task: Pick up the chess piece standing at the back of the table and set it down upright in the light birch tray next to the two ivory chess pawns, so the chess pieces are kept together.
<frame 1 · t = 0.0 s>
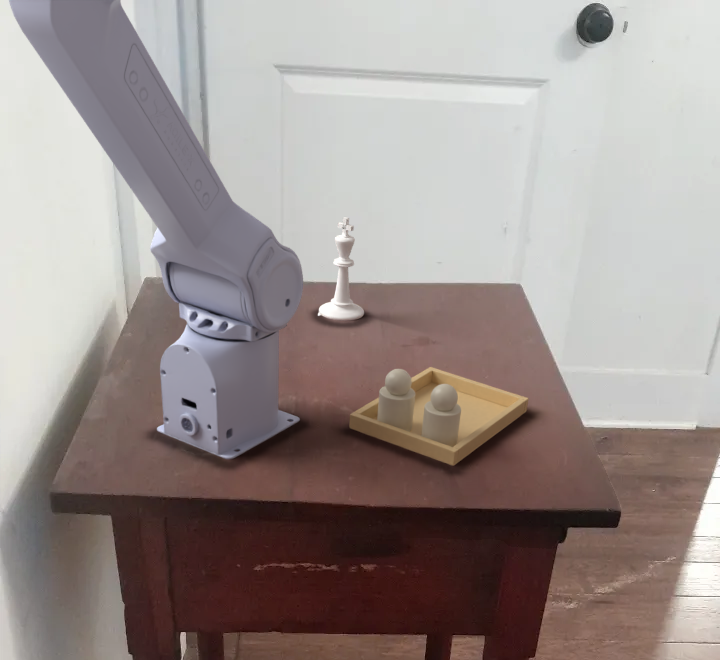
chess tray: (439, 424, 86), on the table
chess piece: (341, 318, 105), on the table
pawn b: (394, 426, 84), resting on chess tray
pawn a: (438, 442, 82), resting on chess tray
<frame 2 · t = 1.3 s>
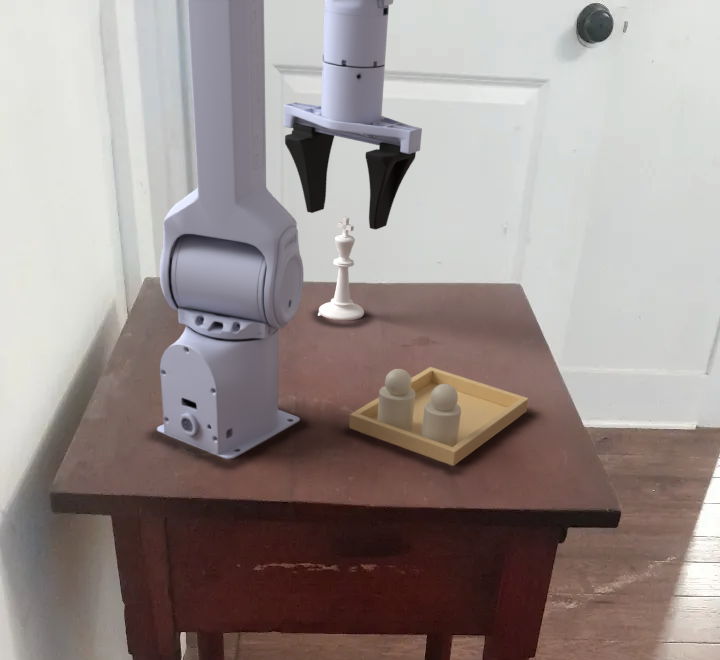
hand: (346, 218, 98), 10 cm above the table, tool pointing down, fingers open, 7 cm apart
nothing on the table moved.
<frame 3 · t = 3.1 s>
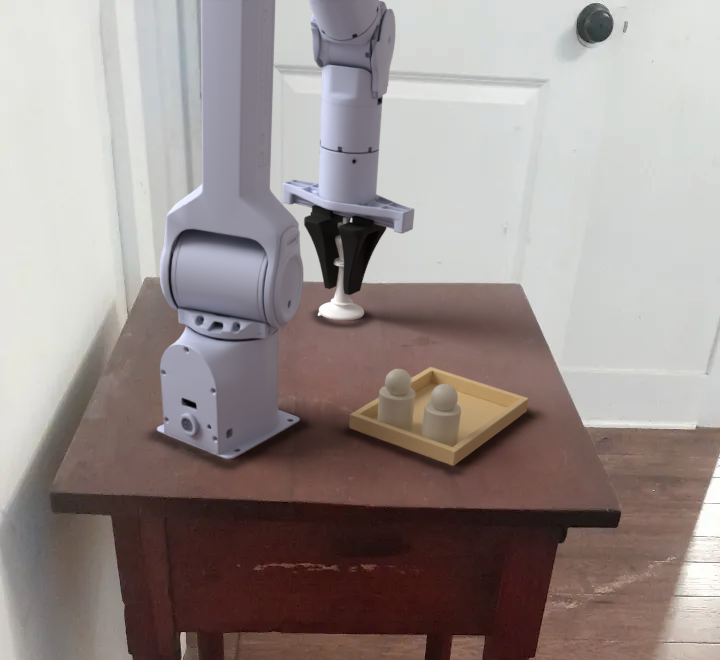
hand: (342, 289, 103), 3 cm above the table, tool pointing down, fingers closed on chess piece
chess piece: (341, 318, 105), on the table, touching gripper
everything else where it was.
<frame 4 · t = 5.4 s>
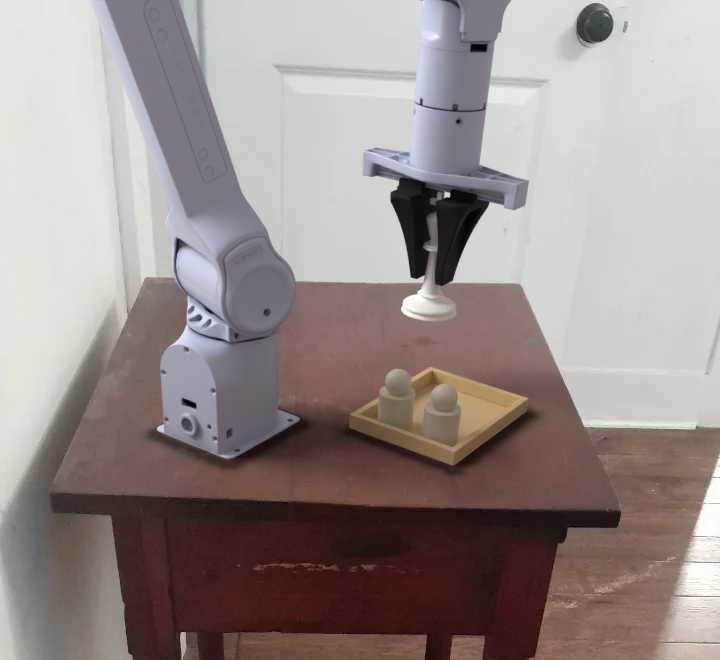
hand: (431, 279, 86), 10 cm above the table, tool pointing down, fingers closed on chess piece
chess piece: (428, 314, 88), point 7 cm above the table, touching gripper
everything else where it was.
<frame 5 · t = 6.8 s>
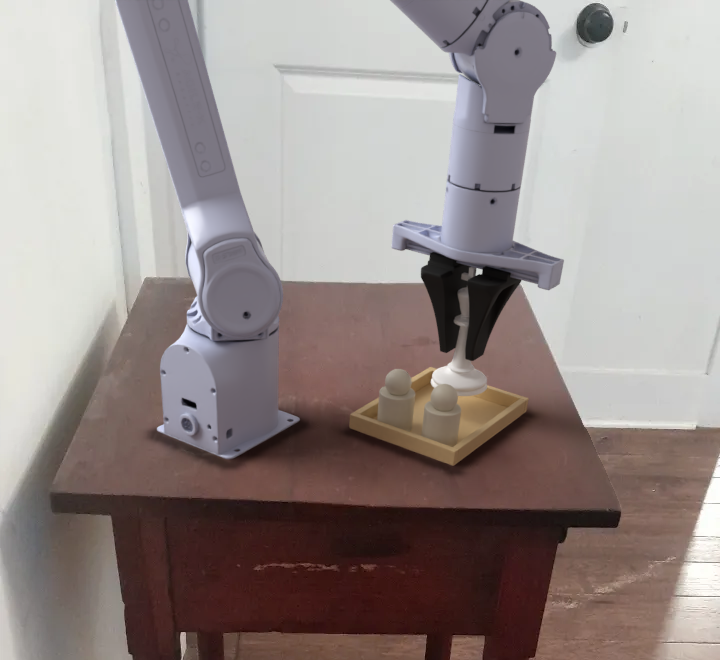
hand: (461, 352, 84), 6 cm above the table, tool pointing down, fingers closed on chess piece
chess piece: (458, 386, 86), point 3 cm above the table, touching gripper
everything else where it was.
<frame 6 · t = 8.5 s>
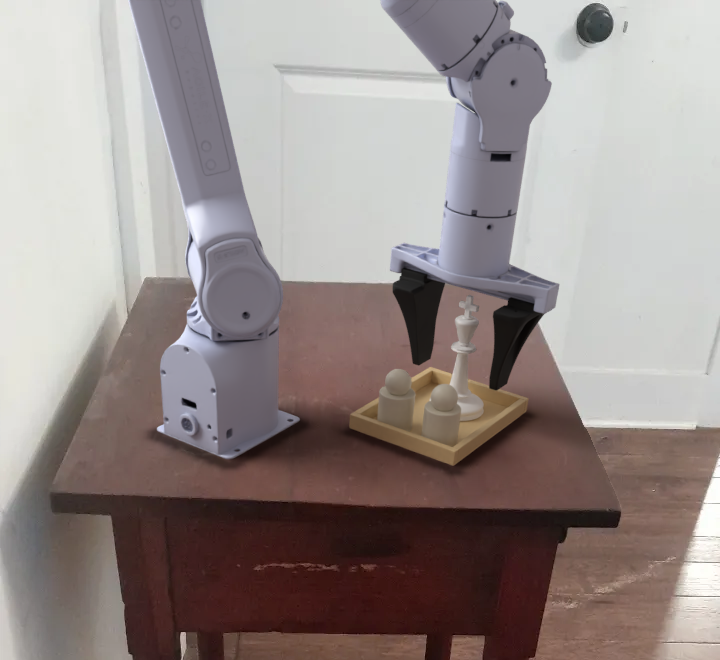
hand: (459, 373, 85), 4 cm above the table, tool pointing down, fingers open, 7 cm apart
chess piece: (455, 411, 87), resting on chess tray
everything else where it was.
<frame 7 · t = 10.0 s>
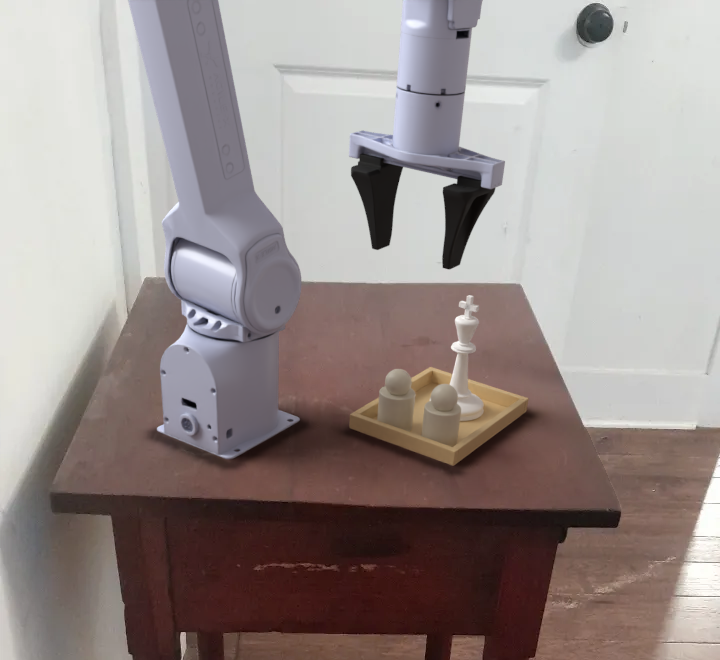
hand: (415, 256, 90), 10 cm above the table, tool pointing down, fingers open, 7 cm apart
nothing on the table moved.
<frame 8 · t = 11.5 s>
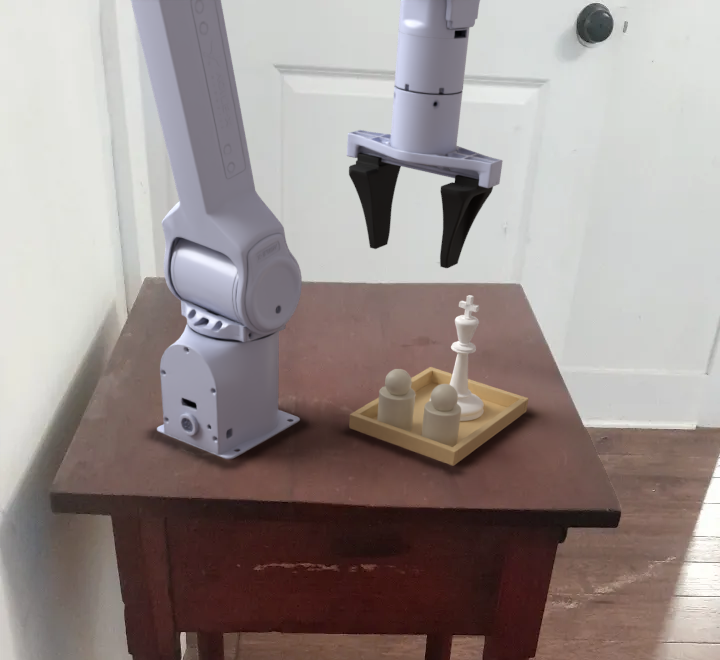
hand: (413, 255, 90), 10 cm above the table, tool pointing down, fingers open, 7 cm apart
nothing on the table moved.
at the end: chess piece 0.2 cm from the target spot in the chess tray, point 0.3 cm above the chess tray's base; chess piece tilted 0°; pawn a moved 0.0 cm from its start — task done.
